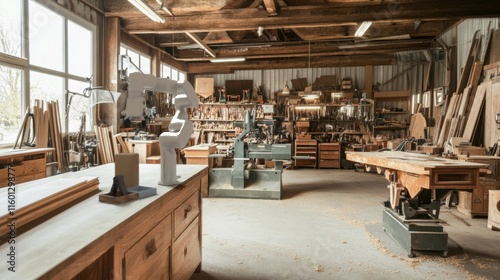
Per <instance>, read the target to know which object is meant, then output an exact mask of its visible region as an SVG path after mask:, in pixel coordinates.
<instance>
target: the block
mask: <svg viewBox="0 0 500 280" xmlns="http://www.w3.org/2000/svg"><path fill="white" fill-rule="evenodd" d="M117 175H123V176H124V182H125V185H126V187H127V188H131V187H135V186H140V153H137V152H121V153H116V154H115V155H114V177H115V176H117ZM118 190H119V188H118ZM118 190H117V191H118Z"/></svg>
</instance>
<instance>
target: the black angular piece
mask: <svg viewBox="0 0 500 280" xmlns="http://www.w3.org/2000/svg"><path fill="white" fill-rule="evenodd" d="M118 188H119V191H120V195H121V196H125V195H129V193H128V190H127V187H126V185H125V182H124V176H123V175H117V176H115V175H114V176H113V178H112V185H111V187H110V190H109V191H110V193H109V196H112V197H116V194H117V191H118ZM121 196H120V197H121Z"/></svg>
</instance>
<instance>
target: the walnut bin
mask: <svg viewBox="0 0 500 280" xmlns="http://www.w3.org/2000/svg"><path fill="white" fill-rule="evenodd" d="M103 193H104V192H103ZM109 193H110V192H109ZM109 193H104V194H101V193H99V194H98V202H102V203H108V204H112V205H113V204H114V205H120V204H124V203H127V202H131V201H134V200H138V199H139V198H138V193H137V192H130V191H128V193H129V195H125V196H121V195H120V191H119V190H117V194H116V197H112V196H109Z"/></svg>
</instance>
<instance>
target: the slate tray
mask: <svg viewBox="0 0 500 280" xmlns="http://www.w3.org/2000/svg"><path fill="white" fill-rule="evenodd" d="M127 190H128V191H130V192H137V193H138V199H143V198H145V197H150V196H152V195H153V196H154V195H157V193H158V192H157V190H158V189H157V187H152V186H146V185H145V186H144V185H139V186H135V187H131V188H127Z"/></svg>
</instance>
